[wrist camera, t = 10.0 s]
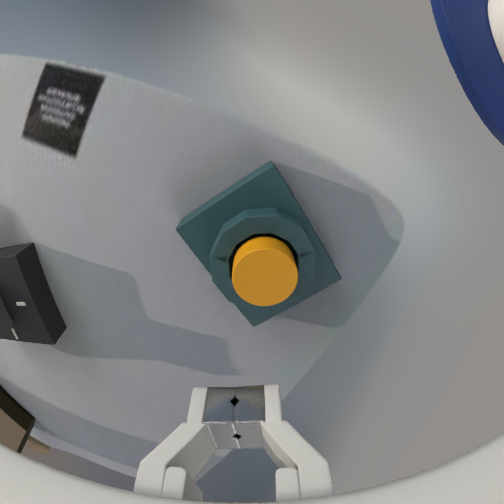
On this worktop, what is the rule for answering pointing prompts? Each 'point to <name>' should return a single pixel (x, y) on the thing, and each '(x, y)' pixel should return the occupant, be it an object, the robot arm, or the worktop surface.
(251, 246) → the trigger button
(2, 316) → the grey rectangular block
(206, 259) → the teal button mount
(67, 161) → the worktop surface
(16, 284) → the dark grey flat block
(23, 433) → the bottle
